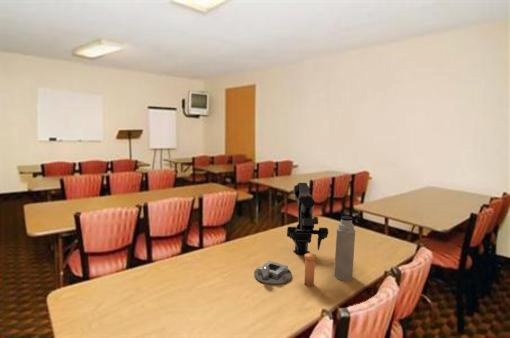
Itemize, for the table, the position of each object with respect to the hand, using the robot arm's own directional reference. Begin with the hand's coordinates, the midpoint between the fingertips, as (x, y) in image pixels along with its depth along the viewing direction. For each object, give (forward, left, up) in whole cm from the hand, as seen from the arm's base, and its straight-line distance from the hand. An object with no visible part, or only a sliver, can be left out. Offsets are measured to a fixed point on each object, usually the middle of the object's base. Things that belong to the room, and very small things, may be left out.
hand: (308, 249), depth 144 cm
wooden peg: (+5, +6, -13) cm, 15 cm away
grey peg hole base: (+13, -9, -13) cm, 20 cm away
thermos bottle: (-13, +10, -13) cm, 21 cm away
